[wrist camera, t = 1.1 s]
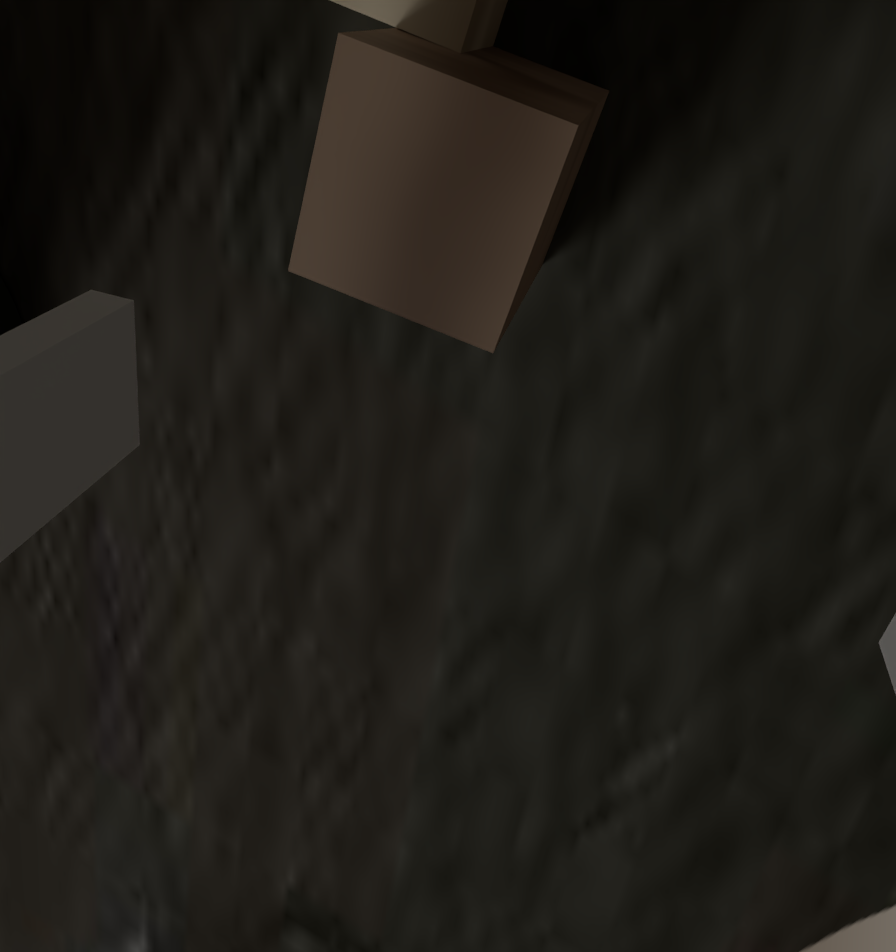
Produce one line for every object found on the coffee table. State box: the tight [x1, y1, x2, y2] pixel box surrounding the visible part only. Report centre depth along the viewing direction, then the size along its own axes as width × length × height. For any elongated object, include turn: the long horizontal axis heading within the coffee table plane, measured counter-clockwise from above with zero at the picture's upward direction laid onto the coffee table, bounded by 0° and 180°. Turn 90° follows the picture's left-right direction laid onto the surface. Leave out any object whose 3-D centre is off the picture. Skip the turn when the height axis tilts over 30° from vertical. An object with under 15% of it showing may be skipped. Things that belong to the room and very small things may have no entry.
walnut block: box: [288, 28, 609, 353], centre depth 25 cm, size 6×6×9 cm
